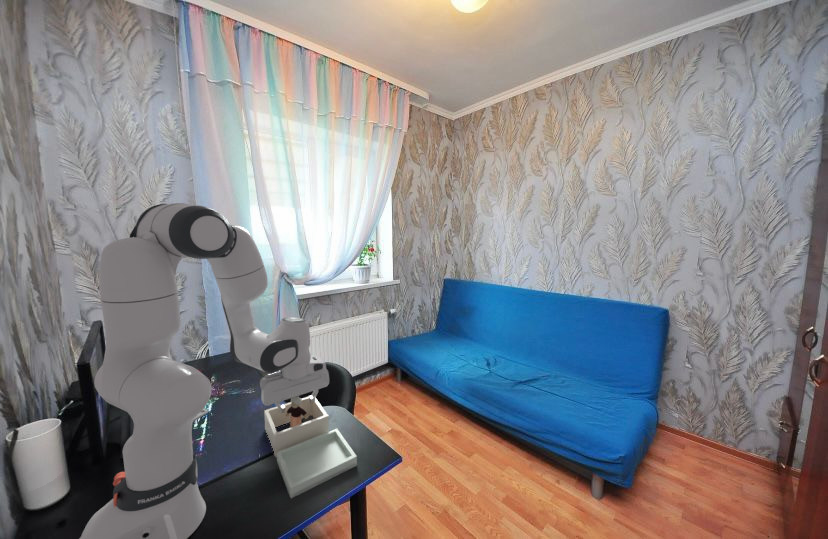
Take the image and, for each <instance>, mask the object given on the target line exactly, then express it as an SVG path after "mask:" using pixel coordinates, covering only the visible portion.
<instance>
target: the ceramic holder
mask: <svg viewBox="0 0 828 539" xmlns="http://www.w3.org/2000/svg"><path fill="white" fill-rule="evenodd" d="M316 397H317V396H316ZM316 397H315V402H312V403H310V401H309V399H310V398H309V396H305V397H303V398H301V400H302V403H301V404H300V405H299V407H300V408H302V409H304V410H305V411H306V412H307V413H306V414H307V416H308V418H309V417H311V416H312V417H313V419H311V420H308V421H307V420H306V421H305V422H302V424H299V425H296V426H294V427H291V428H290V427H289V428H286V429H283V430H281V431H278V430H277V428H275V427H278V426H280V425H283V424H286V423H289V422H290V421H291V413H290V414H289V416H287V417H286V413H287V410H288V409H289V408H290V407H291V406H292V405H291V401H290V402H286V403H284V404H282V405H284V406H285V412H284V413H281V414H280V412H279V408H278V407H277V406H274V407H271V408H268V409H266V410H265V409H264V413H263V414H264V431H265V430H266V431H265V433H267V434H266V436H267V435H268V436H267V438H269V439H268V441H269V440H270V442H269V444H270V443H271V445H270V446H272V447H271V449H272V448H273V450H272V452H273V451H274V453H273V455H274V457H275V458H277V452H279V451H282V450H284V449H287V448H289V447H292V446H294V445H297V444H299V443H302V442H304V441H307V440H309V439H312V438H314V437H317V436H319V435H322V434H324V433H327V432H329V430H330V428H329V426H330V424H329V420H330V418H329V414H328V413H327V411H326V410H325V409H324V407H323V406H322V405H321V403H320V401H318V399H317V398H316ZM302 419H305V417H304V416H303V415H302V414H301V420H302ZM289 424H290V423H289ZM286 425H287V424H286ZM283 426H284V425H283ZM278 428H279V427H278Z"/></svg>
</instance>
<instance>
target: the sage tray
mask: <svg viewBox="0 0 828 539" xmlns="http://www.w3.org/2000/svg"><path fill="white" fill-rule="evenodd" d="M357 457H358V456H357V454H356V453H355V452H354V450H353V449H352V447H351V445H349V443H348V441H346V439H345V438H344V436H343V435H342V433H341V432H340V431H339V429H338V428H335V429H332V430H330V431H329V432H327V433H324V434H322V435H319V436H317V437H314V438H312V439H309V440H307V441H304V442H302V443H299V444H297V445H294V446H292V447H289V448H287V449H284V450H282V451H279V452H277V457H276V464H277V465H278V466H277V467H278V469H279V472H280V474H281V476H282V479H283V482H284V484H285V487H286V490H287V493H288V496H289V497H290V499H293V498H295V497H297V496H299V495H302V494H303V493H305V492H307V491H309V490H311V489H313V488H315V487H317V486H319V485H321V484H323V483H325V482H327V481H329V480H331V479H333V478H334V477H336V476H339V475H341V474H343V473H345V472H348V471H349V470H350V469H351V470H352V469H353V468H355V467H357V466H358V465H357V464H358V458H357Z"/></svg>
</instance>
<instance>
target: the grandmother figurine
mask: <svg viewBox="0 0 828 539" xmlns="http://www.w3.org/2000/svg"><path fill="white" fill-rule="evenodd" d="M301 399H302V398H301V397H300V396H296V397H293V398H290V402H291V405H292V406H291V407H290V408H289V409H288V410H287V413H286V417H287V416H289V414H290V413H291V421H290V423H289V428H291V427H294V426H296V425H299V424H302V423H303V422H302V419H301V414H302V415H303V416H304V417H305V418H304V420H308V419H309V417H308V416H307V414H306V413H307V412H306V411H305V410H304V409H302V408H300V407H299V405H300V404H301V403H302V400H301Z"/></svg>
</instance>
